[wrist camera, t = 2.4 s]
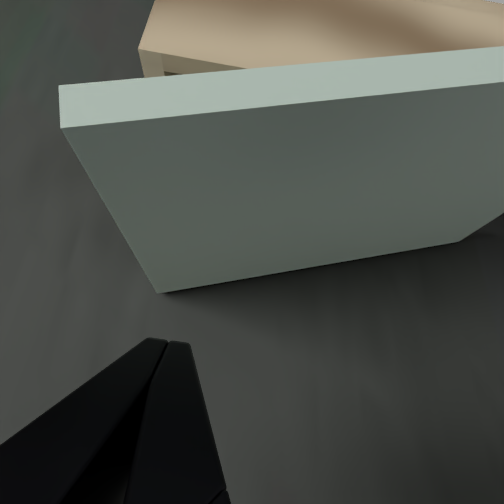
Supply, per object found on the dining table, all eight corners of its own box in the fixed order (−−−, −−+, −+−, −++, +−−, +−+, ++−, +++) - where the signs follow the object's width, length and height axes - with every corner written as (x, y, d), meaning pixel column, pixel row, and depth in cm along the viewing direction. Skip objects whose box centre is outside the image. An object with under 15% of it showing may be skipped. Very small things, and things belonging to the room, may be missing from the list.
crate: (450, 222, 21) (577, 128, 14) (166, 173, 21) (137, 48, 13) (446, 135, 23) (553, 13, 16) (189, 89, 23) (175, -59, 16)
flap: (466, 240, 21) (763, 54, 9) (157, 293, 18) (60, 127, 7) (459, 223, 21) (738, 25, 10) (154, 273, 18) (58, 85, 7)
